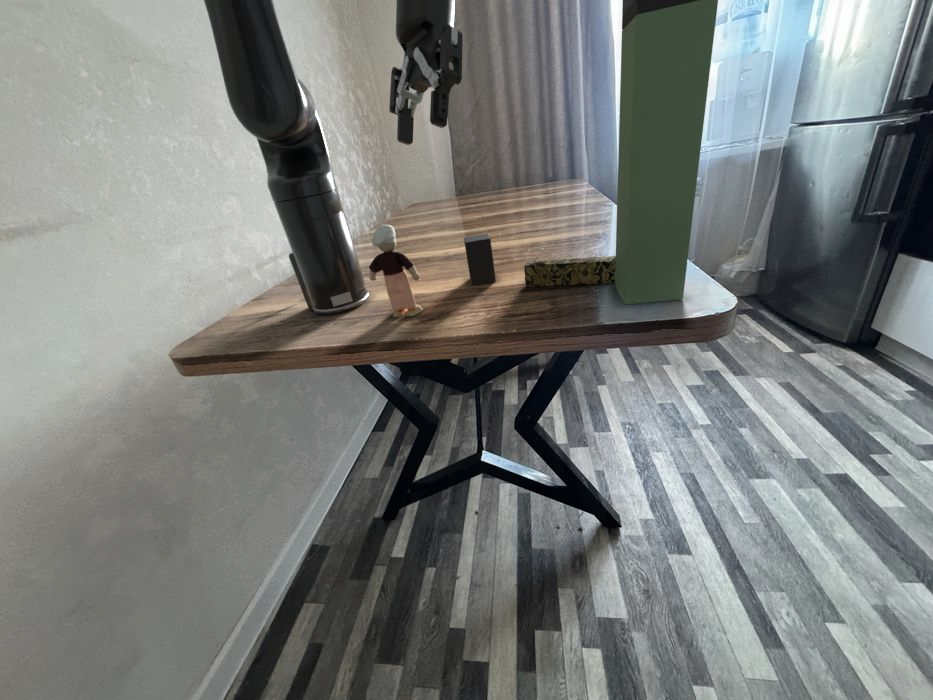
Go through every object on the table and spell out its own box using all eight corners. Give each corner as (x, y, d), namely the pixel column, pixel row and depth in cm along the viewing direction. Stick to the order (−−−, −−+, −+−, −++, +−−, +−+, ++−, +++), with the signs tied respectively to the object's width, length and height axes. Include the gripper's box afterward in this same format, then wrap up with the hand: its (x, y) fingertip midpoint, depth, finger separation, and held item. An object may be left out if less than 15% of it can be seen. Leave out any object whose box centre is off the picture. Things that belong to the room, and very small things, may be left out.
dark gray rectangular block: (471, 285, 62) (464, 242, 59) (470, 278, 66) (463, 237, 63) (495, 281, 62) (490, 238, 59) (493, 274, 66) (487, 233, 63)
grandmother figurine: (431, 305, 58) (412, 218, 52) (426, 315, 54) (405, 224, 48) (383, 310, 59) (359, 226, 53) (375, 321, 56) (349, 232, 50)
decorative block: (525, 287, 58) (523, 264, 56) (528, 281, 60) (526, 259, 58) (636, 283, 53) (637, 258, 51) (635, 277, 55) (636, 253, 53)
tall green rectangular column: (624, 304, 47) (639, -43, 32) (614, 286, 53) (623, -17, 38) (683, 299, 46) (726, -65, 31) (666, 281, 52) (696, -35, 37)
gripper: (375, 16, 53) (372, 140, 56) (432, -51, 42) (425, 107, 45) (421, 41, 58) (416, 155, 60) (483, -14, 47) (475, 128, 49)
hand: (420, 134), depth 52 cm, fingers open, 8 cm apart
